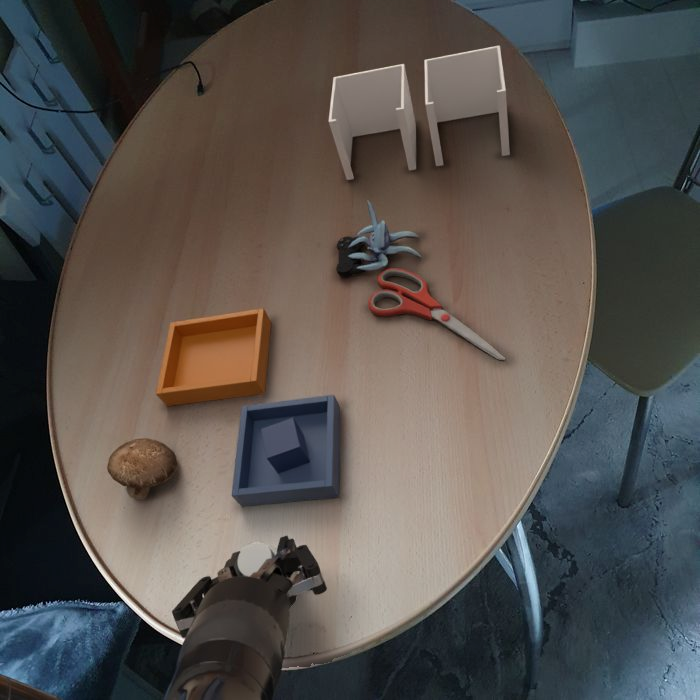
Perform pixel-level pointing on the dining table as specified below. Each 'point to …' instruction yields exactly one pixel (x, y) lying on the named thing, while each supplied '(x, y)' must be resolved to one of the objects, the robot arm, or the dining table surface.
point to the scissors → (422, 307)
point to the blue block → (285, 445)
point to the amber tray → (215, 358)
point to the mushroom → (142, 465)
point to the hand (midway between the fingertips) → (263, 552)
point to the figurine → (378, 246)
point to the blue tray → (297, 483)
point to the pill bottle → (255, 557)
